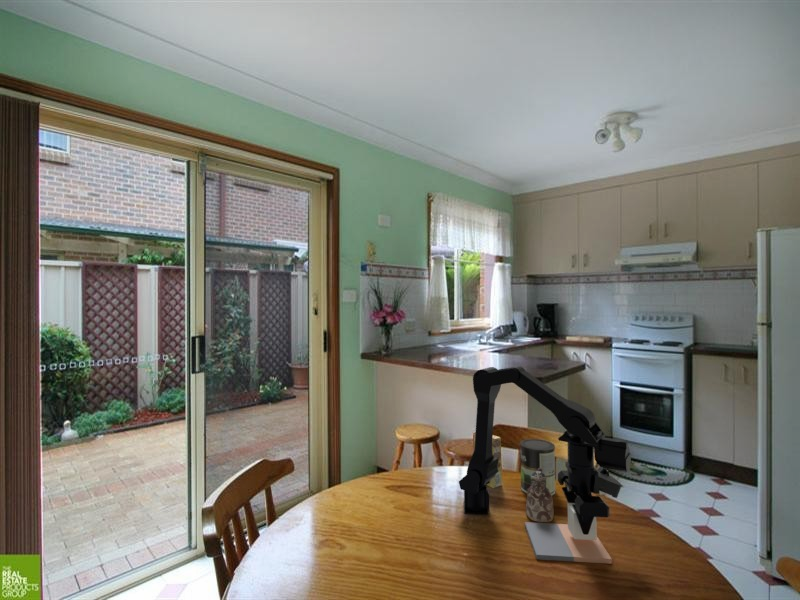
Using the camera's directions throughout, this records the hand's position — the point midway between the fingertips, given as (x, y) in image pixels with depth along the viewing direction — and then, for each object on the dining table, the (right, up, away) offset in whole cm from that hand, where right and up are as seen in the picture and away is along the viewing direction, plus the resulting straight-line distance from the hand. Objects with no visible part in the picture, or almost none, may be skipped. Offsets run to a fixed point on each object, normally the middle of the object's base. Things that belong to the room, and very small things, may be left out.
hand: (581, 528), depth 97 cm
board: (-4, -4, 0) cm, 6 cm away
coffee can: (-1, -5, +29) cm, 30 cm away
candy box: (-15, -5, +35) cm, 38 cm away
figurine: (-5, -4, +14) cm, 15 cm away
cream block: (0, -1, 0) cm, 1 cm away
